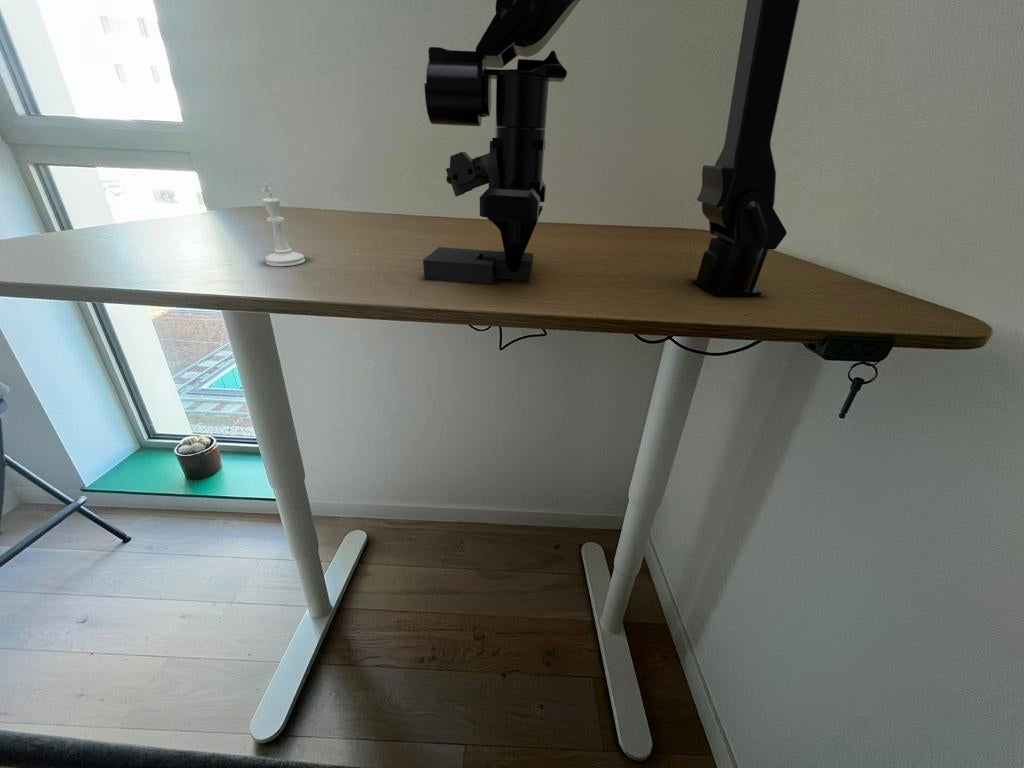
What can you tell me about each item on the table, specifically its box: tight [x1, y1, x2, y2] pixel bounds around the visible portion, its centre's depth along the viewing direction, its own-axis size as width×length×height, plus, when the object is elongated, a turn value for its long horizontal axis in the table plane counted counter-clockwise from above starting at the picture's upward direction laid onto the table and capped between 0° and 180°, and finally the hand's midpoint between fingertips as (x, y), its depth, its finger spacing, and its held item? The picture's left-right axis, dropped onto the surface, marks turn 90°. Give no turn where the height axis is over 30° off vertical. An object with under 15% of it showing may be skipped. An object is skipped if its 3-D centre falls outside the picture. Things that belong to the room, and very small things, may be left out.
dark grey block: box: [482, 250, 534, 281], centre depth 54 cm, size 6×4×2 cm
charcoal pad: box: [422, 246, 501, 285], centre depth 54 cm, size 9×8×2 cm
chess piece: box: [260, 182, 306, 267], centre depth 54 cm, size 5×5×10 cm
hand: (514, 265), depth 54 cm, fingers closed on dark grey block, 4 cm apart
